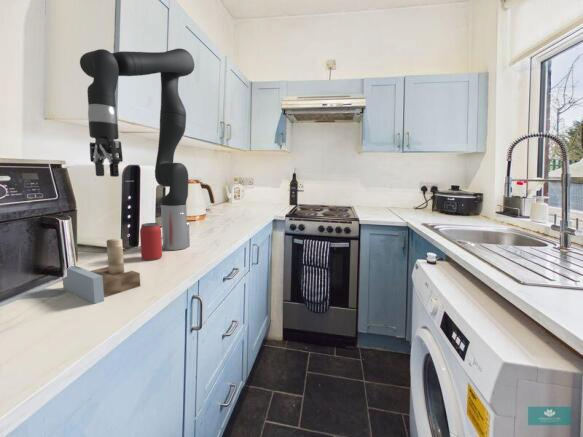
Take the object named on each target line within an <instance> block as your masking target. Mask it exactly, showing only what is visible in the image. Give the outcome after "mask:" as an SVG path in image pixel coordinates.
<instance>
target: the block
mask: <svg viewBox="0 0 583 437" xmlns="http://www.w3.org/2000/svg"><path fill="white" fill-rule="evenodd" d="M90 271H91V272H93V273H96V274H98V275H101V276H102V278H103V291H104V298H107V297H109V296H113V295H116V294H119V293H122V292H125V291H129V290H131V289H136V288H139V287H141V274H140V272H137V271H135V270H128V271H126V272H125V271H124V273H121V274H118V275H114V276H112V275H110V274H109V269H108V266H106V267H100V268H97V269H93V270H90Z"/></svg>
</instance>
